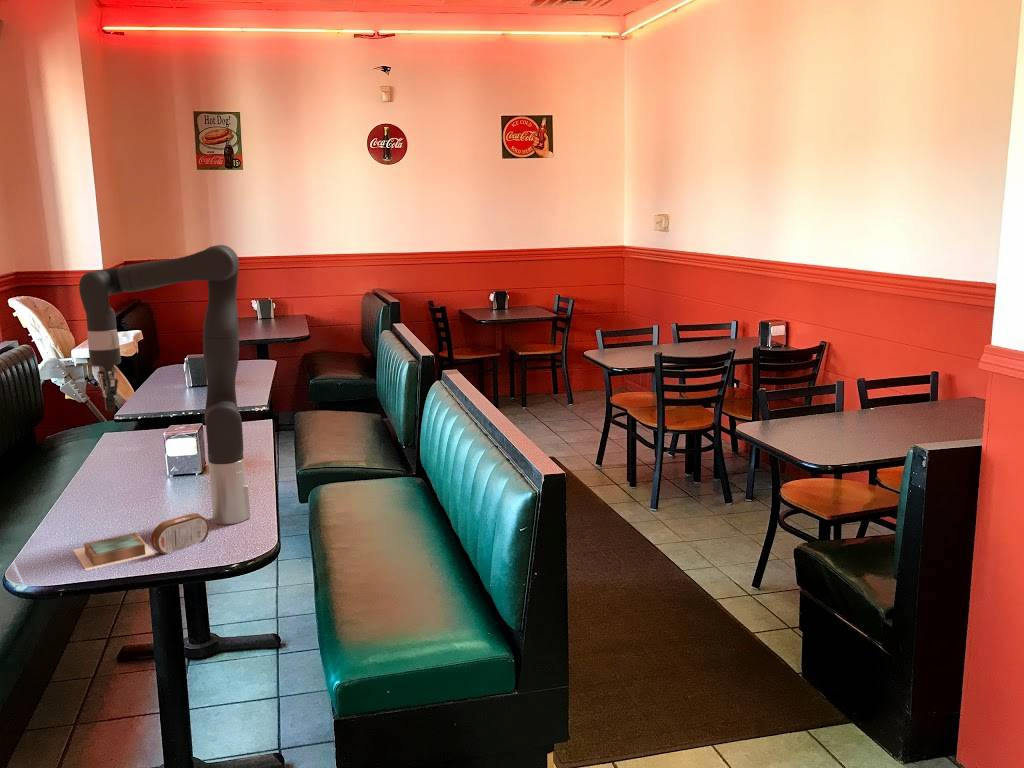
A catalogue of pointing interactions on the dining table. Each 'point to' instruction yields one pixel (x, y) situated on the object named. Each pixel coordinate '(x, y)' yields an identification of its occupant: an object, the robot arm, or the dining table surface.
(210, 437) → the robot arm
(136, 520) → the dining table surface
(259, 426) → the dining table surface
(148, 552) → the placemat
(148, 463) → the dining table surface
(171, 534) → the tin
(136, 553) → the plaque
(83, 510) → the dining table surface
